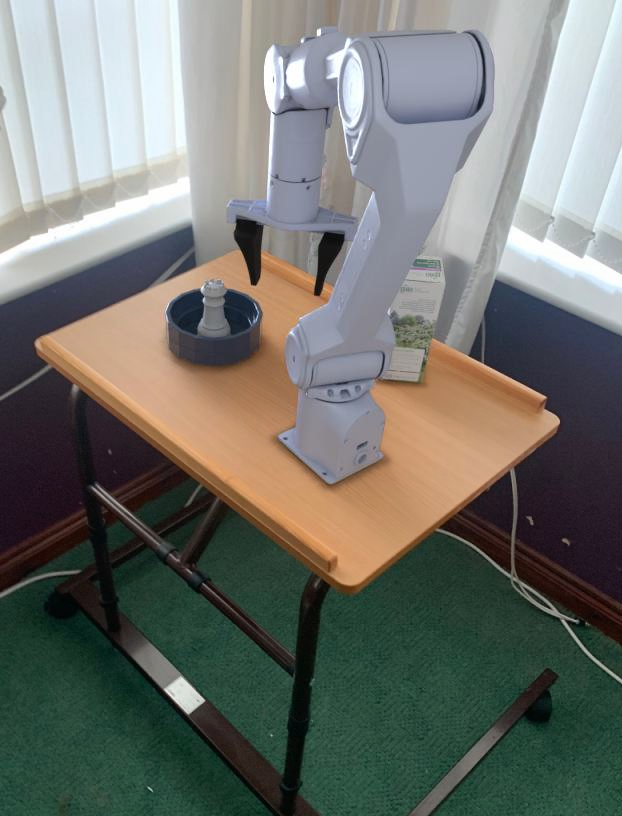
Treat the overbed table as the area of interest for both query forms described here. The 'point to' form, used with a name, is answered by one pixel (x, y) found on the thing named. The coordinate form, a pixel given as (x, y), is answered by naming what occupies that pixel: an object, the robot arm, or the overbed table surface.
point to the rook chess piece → (213, 310)
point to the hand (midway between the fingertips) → (286, 286)
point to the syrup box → (415, 319)
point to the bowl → (210, 350)
